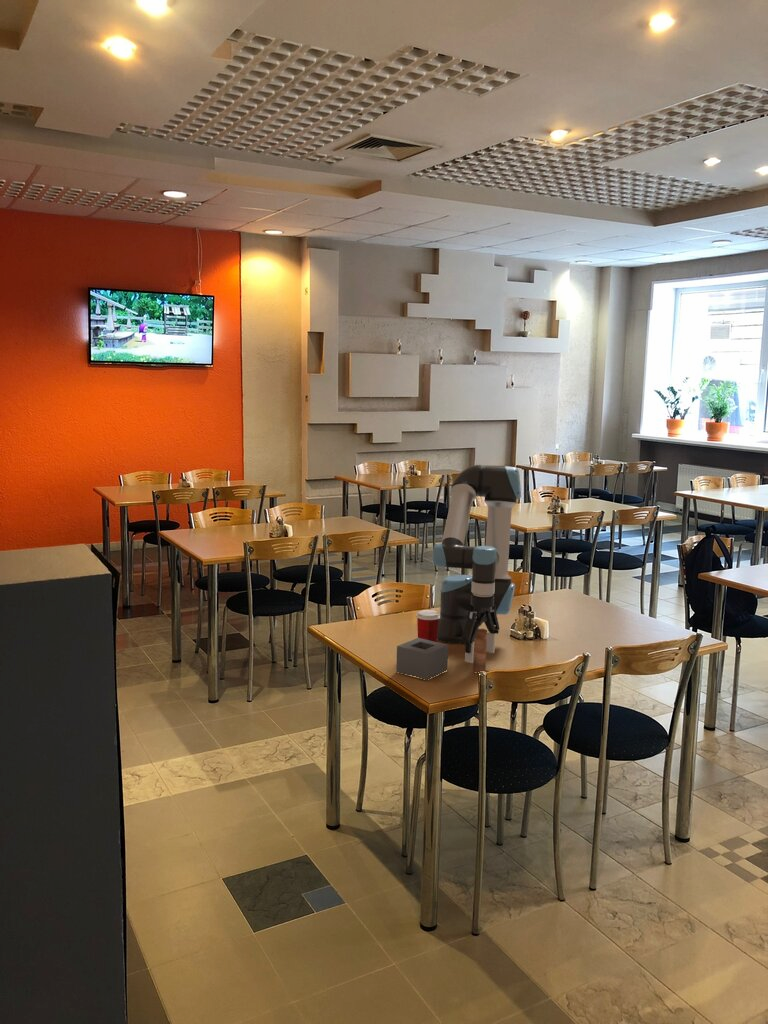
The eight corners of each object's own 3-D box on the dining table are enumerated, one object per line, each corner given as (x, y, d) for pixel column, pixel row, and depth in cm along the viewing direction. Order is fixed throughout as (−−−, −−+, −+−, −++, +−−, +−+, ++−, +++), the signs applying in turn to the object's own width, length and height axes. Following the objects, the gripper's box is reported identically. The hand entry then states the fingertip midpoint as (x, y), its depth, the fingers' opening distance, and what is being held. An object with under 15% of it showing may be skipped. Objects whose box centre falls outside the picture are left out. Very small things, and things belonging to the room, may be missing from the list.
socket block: (417, 663, 288) (418, 637, 287) (447, 671, 281) (448, 645, 280) (396, 672, 279) (397, 646, 277) (426, 681, 272) (427, 653, 270)
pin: (477, 668, 285) (478, 627, 283) (487, 671, 282) (489, 630, 280) (470, 671, 282) (472, 630, 279) (481, 674, 279) (483, 633, 277)
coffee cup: (437, 650, 302) (439, 609, 300) (439, 658, 294) (441, 616, 292) (413, 650, 302) (415, 609, 300) (415, 658, 294) (416, 615, 291)
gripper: (491, 585, 290) (489, 646, 293) (452, 599, 270) (449, 663, 273) (511, 589, 286) (508, 650, 289) (472, 603, 266) (469, 669, 269)
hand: (479, 657), depth 281 cm, fingers open, 13 cm apart
